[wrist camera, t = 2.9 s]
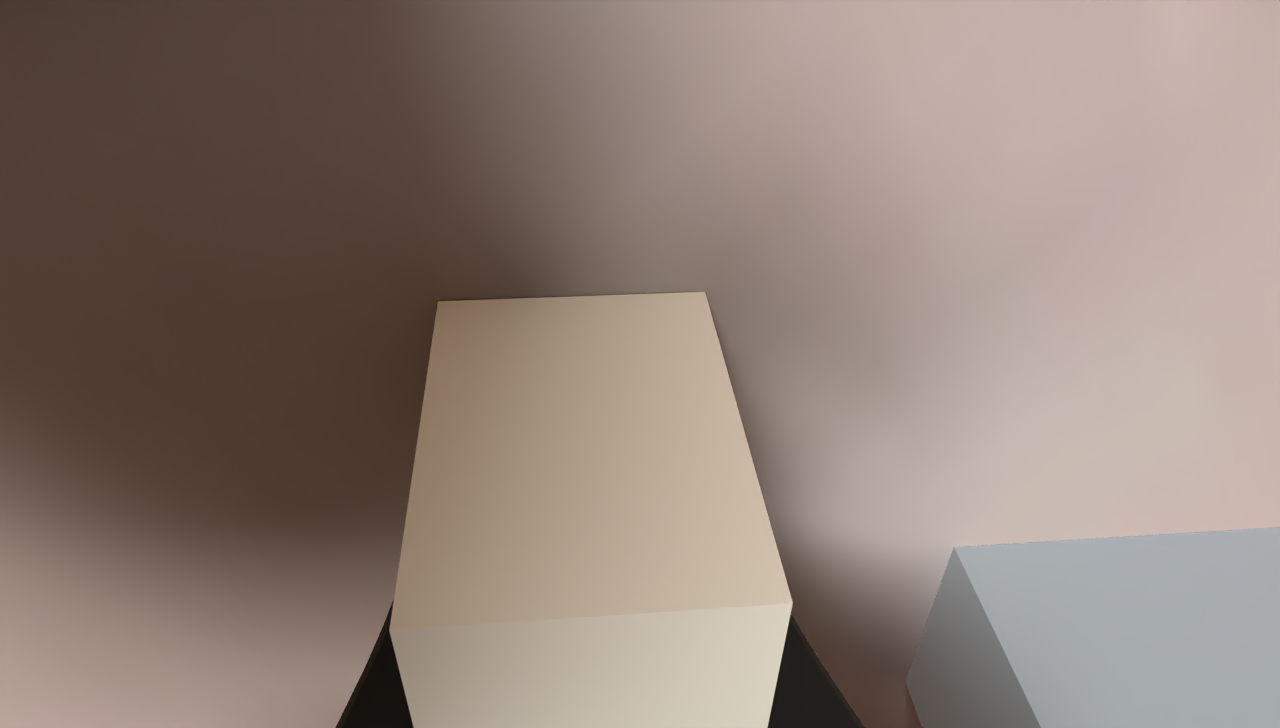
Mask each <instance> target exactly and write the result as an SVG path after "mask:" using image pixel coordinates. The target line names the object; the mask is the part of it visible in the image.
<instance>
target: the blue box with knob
mask: <svg viewBox="0 0 1280 728" xmlns="http://www.w3.org/2000/svg"><path fill="white" fill-rule="evenodd" d="M905 683H906V685H907V688H908V691H909V693H910V696H911V699H912V702H913V704H914V707H915V710H916V712H917V715H918V718H919V721H920V723H921V726H922V728H1280V527H1275V528H1259V529H1242V530H1226V531H1209V532H1193V533H1177V534H1160V535H1144V536H1127V537H1111V538H1095V539H1078V540H1062V541H1046V542H1029V543H1013V544H996V545H980V546H964V547H954V548H953V551H952V554H951V557H950V559H949V562H948V565H947V568H946V570H945V573H944V576H943V579H942V581H941V584H940V587H939V590H938V592H937V595H936V598H935V601H934V603H933V606H932V609H931V611H930V614H929V617H928V620H927V622H926V625H925V628H924V631H923V633H922V636H921V639H920V642H919V644H918V647H917V650H916V653H915V655H914V658H913V661H912V664H911V666H910V669H909V672H908V675H907V677H906V680H905Z"/></svg>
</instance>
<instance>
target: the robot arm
mask: <svg viewBox="0 0 1280 728" xmlns="http://www.w3.org/2000/svg"><path fill="white" fill-rule="evenodd" d="M393 602H394V600H393ZM393 602H392V605H391V608H390V610H389V613H388V615H387V618H386V620H385V623H384V625H383V628H382V630H381V633H380V635H379V637H378V640H377V642H376V644H375V646H374V649H373V651H372V653H371V655H370V658H369V660H368V662H367V664H366V667H365V669H364V671H363V673H362V675H361V677H360V679H359V681H358V683H357V685H356V687H355V689H354V691H353V693H352V695H351V697H350V699H349V702H348V704H347V706H346V708H345V710H344V712H343V714H342V716H341V718H340V720H339V722H338V724H337V726H336V728H414V727H413V723H412V719H411V715H410V711H409V707H408V703H407V699H406V695H405V691H404V687H403V683H402V679H401V675H400V671H399V667H398V663H397V659H396V655H395V651H394V647H393V643H392V639H391V635H390V631H389V629H390V622H391V616H392V609H393ZM767 728H865V727H864V726H863V724H862V723H861V721H860V720H859V719H858V717H857V716H856V714H855V713H854V711H853V710H852V709H851V707H850V706H849V704H848V703H847V701H846V700H845V698H844V697H843V695H842V694H841V692H840V691H839V689H838V688H837V686H836V685H835V683H834V682H833V680H832V679H831V677H830V676H829V674H828V673H827V671H826V670H825V668H824V667H823V665H822V663H821V662H820V660H819V659H818V657H817V656H816V654H815V653H814V651H813V649H812V648H811V646H810V645H809V643H808V641H807V640H806V638H805V636H804V635H803V633H802V631H801V630H800V628H799V626H798V625H797V623H796V621H795V620H794V618H793V616H792V614H790V619H789V624H788V629H787V634H786V639H785V644H784V649H783V654H782V659H781V664H780V668H779V673H778V678H777V683H776V688H775V693H774V698H773V703H772V708H771V713H770V718H769V723H768V727H767Z"/></svg>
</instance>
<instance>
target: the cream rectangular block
mask: <svg viewBox="0 0 1280 728" xmlns="http://www.w3.org/2000/svg"><path fill="white" fill-rule="evenodd" d="M792 605H793V602H792V598H791V595H790V591H789V588H788V584H787V581H786V577H785V574H784V570H783V567H782V563H781V559H780V556H779V552H778V549H777V545H776V542H775V538H774V535H773V531H772V528H771V524H770V520H769V517H768V513H767V510H766V506H765V503H764V499H763V496H762V492H761V489H760V485H759V481H758V478H757V474H756V471H755V467H754V464H753V460H752V457H751V453H750V450H749V446H748V442H747V439H746V435H745V432H744V428H743V425H742V421H741V418H740V414H739V411H738V407H737V403H736V400H735V396H734V393H733V389H732V386H731V382H730V379H729V375H728V372H727V368H726V364H725V361H724V357H723V354H722V350H721V347H720V343H719V340H718V336H717V332H716V329H715V325H714V322H713V318H712V315H711V311H710V308H709V304H708V301H707V297H706V293H705V292H686V293H658V294H629V295H601V296H573V297H545V298H517V299H489V300H461V301H438V304H437V311H436V318H435V325H434V332H433V338H432V345H431V352H430V359H429V365H428V372H427V379H426V386H425V392H424V399H423V406H422V413H421V419H420V426H419V433H418V440H417V447H416V453H415V460H414V467H413V474H412V480H411V487H410V494H409V501H408V507H407V514H406V521H405V528H404V535H403V541H402V548H401V555H400V562H399V568H398V575H397V582H396V589H395V595H394V602H393V609H392V616H391V622H390V629H389V631H390V635H391V639H392V643H393V647H394V651H395V655H396V659H397V663H398V667H399V671H400V675H401V679H402V683H403V687H404V691H405V695H406V699H407V703H408V707H409V711H410V715H411V719H412V723H413V727H414V728H767V727H768V723H769V718H770V713H771V708H772V703H773V698H774V693H775V688H776V683H777V678H778V673H779V668H780V664H781V659H782V654H783V649H784V644H785V639H786V634H787V629H788V624H789V619H790V614H791V609H792Z"/></svg>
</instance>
